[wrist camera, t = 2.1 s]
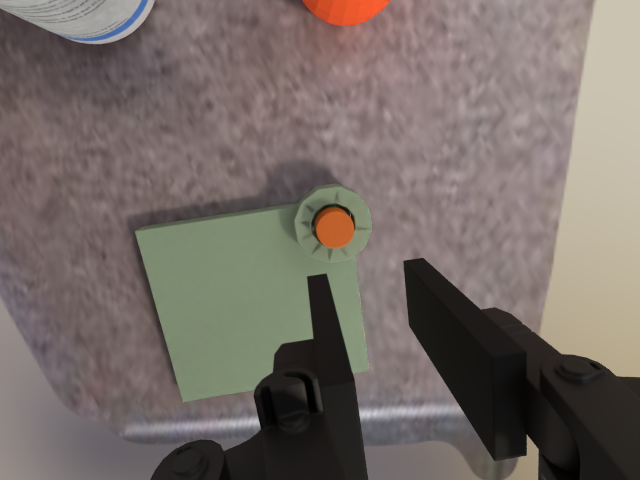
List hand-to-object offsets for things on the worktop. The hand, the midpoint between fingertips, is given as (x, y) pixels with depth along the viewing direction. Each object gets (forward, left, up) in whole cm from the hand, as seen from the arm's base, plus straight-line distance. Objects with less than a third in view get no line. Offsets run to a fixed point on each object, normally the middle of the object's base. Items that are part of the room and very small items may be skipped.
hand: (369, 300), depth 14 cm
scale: (+6, +6, -17) cm, 19 cm away
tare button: (0, 0, -13) cm, 13 cm away
